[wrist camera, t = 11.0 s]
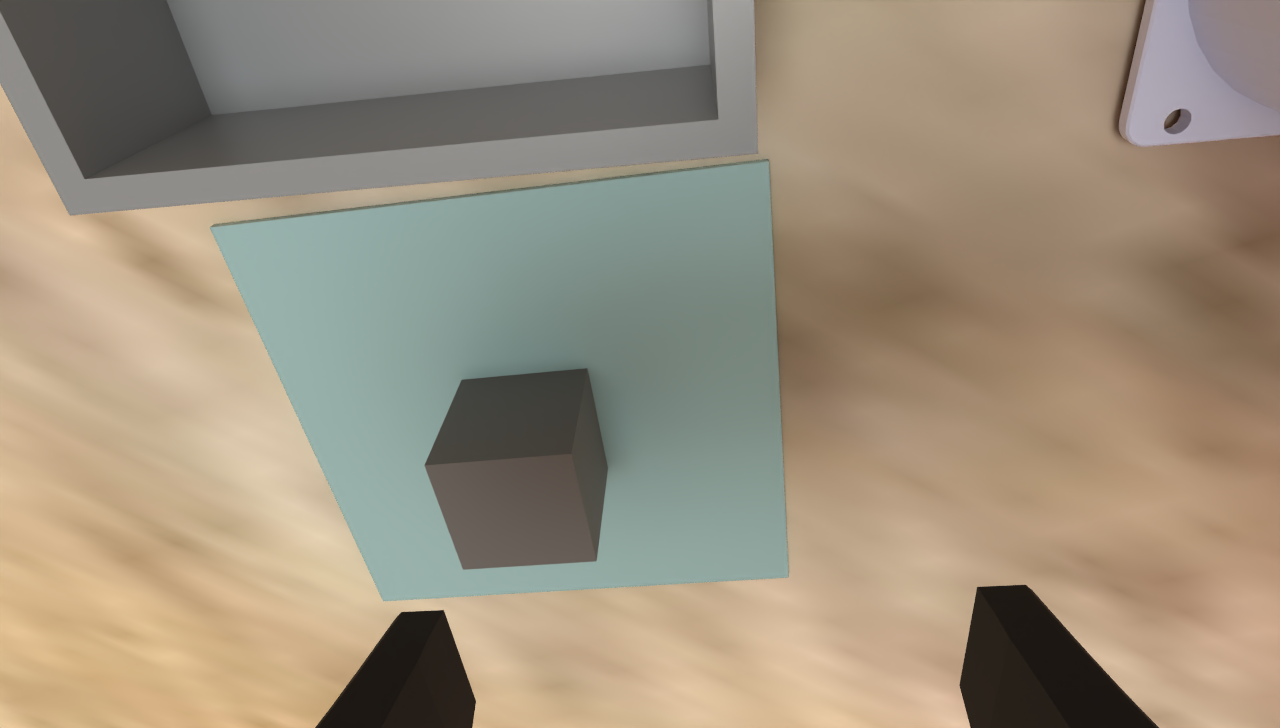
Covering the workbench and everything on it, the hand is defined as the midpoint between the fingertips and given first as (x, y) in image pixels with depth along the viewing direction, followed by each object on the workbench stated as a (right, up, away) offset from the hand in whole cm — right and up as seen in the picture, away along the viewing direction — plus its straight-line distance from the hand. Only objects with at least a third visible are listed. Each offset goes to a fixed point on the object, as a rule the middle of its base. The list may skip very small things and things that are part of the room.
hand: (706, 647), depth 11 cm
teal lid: (-4, +3, +12) cm, 13 cm away
